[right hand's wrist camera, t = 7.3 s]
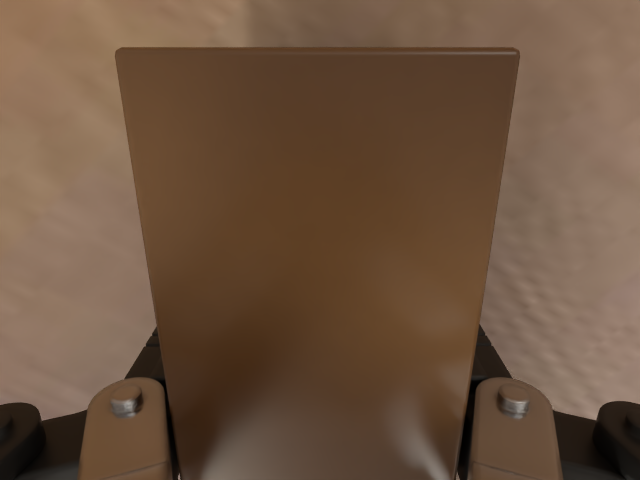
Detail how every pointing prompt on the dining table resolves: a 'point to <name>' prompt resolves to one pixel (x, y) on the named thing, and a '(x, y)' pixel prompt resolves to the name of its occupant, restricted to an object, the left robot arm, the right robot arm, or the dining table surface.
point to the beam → (317, 249)
